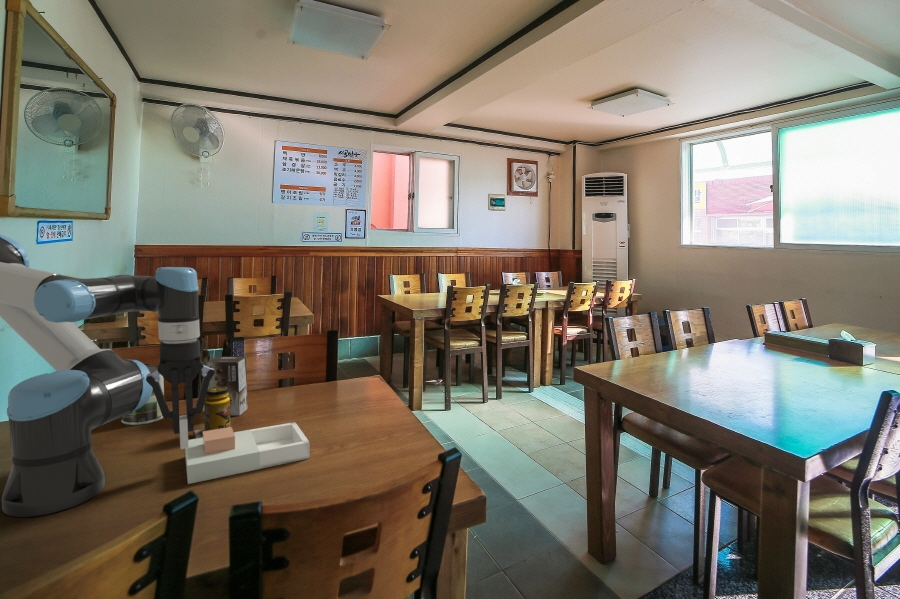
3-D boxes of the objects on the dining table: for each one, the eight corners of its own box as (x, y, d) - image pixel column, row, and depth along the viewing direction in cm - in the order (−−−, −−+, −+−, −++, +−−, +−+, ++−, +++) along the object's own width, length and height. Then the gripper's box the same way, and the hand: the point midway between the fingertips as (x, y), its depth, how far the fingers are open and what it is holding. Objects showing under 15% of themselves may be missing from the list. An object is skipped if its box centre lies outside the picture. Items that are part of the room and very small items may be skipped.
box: (259, 468, 102) (259, 451, 102) (250, 445, 114) (249, 429, 114) (309, 458, 108) (309, 442, 108) (295, 436, 120) (295, 422, 119)
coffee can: (140, 427, 122) (138, 376, 121) (112, 422, 125) (109, 371, 124) (174, 414, 132) (172, 367, 131) (147, 409, 135) (145, 363, 134)
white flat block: (187, 484, 95) (187, 465, 94) (185, 457, 107) (184, 440, 106) (259, 468, 102) (259, 451, 102) (250, 445, 114) (249, 429, 114)
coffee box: (248, 408, 139) (247, 356, 137) (239, 416, 133) (238, 361, 131) (217, 408, 139) (216, 355, 137) (207, 415, 132) (206, 361, 130)
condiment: (233, 435, 120) (233, 390, 118) (197, 441, 115) (195, 395, 114) (229, 425, 126) (228, 383, 124) (194, 431, 121) (193, 387, 120)
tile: (204, 454, 100) (204, 441, 99) (203, 444, 105) (202, 431, 104) (235, 448, 103) (234, 436, 102) (231, 439, 108) (231, 426, 108)
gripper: (142, 346, 91) (148, 459, 93) (215, 340, 97) (219, 446, 100) (143, 339, 97) (149, 445, 100) (212, 334, 104) (216, 434, 106)
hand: (184, 446), depth 100 cm, fingers closed
